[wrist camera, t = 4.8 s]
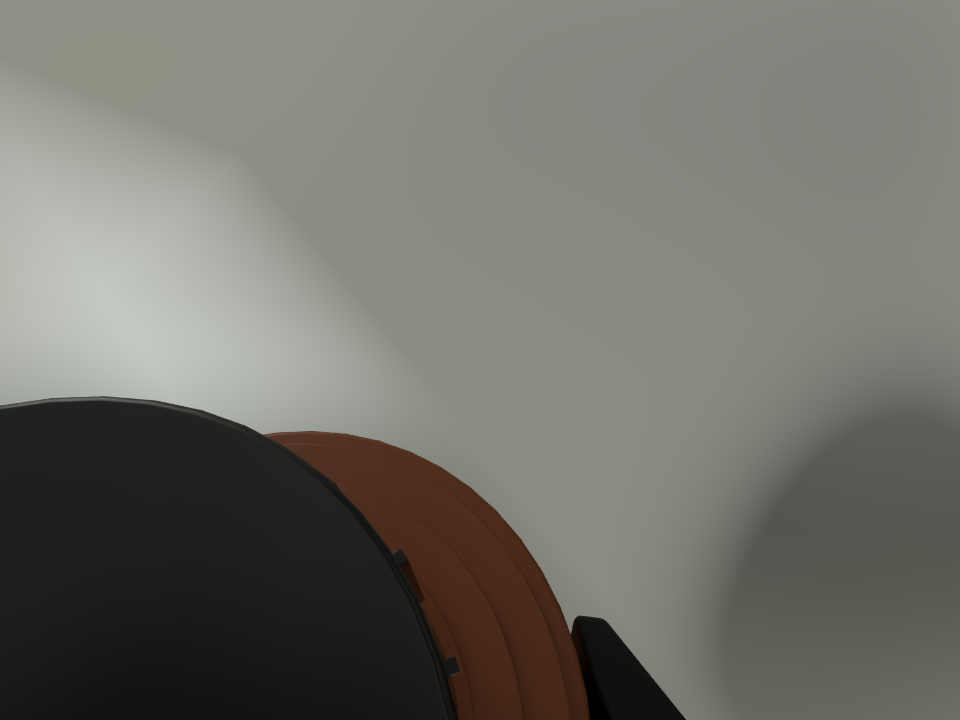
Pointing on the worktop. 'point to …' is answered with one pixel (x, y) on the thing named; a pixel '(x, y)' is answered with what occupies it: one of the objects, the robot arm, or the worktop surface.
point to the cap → (196, 577)
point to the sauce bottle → (462, 578)
